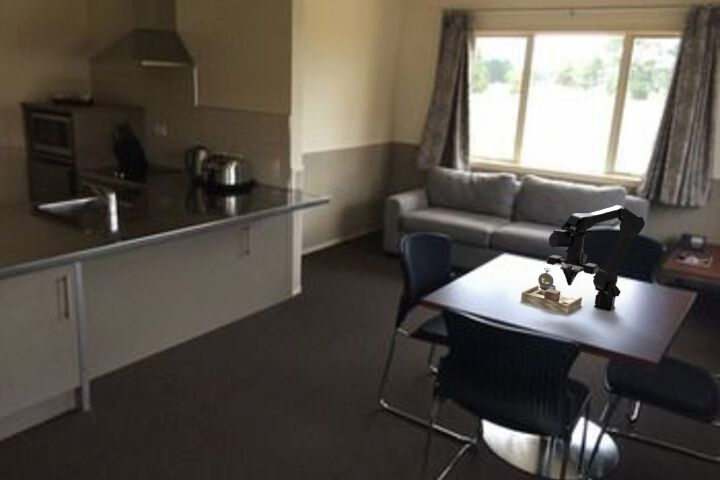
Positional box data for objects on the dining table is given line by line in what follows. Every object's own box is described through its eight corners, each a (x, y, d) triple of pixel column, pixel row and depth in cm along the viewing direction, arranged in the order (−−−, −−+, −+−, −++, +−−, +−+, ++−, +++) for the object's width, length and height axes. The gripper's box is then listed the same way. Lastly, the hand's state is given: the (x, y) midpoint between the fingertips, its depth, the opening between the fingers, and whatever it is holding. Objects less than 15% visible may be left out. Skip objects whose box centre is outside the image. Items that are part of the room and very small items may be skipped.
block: (559, 302, 243) (560, 291, 242) (554, 304, 240) (555, 293, 239) (548, 298, 246) (549, 288, 245) (543, 301, 243) (545, 290, 242)
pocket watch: (553, 286, 269) (556, 264, 267) (557, 292, 261) (561, 270, 259) (535, 284, 270) (537, 263, 268) (538, 290, 262) (541, 268, 260)
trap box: (580, 305, 246) (582, 297, 245) (566, 313, 236) (567, 305, 235) (536, 293, 259) (537, 285, 258) (520, 300, 248) (521, 292, 248)
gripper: (607, 248, 234) (600, 287, 238) (560, 238, 246) (555, 275, 249) (595, 253, 226) (589, 293, 229) (548, 243, 237) (543, 281, 241)
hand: (569, 285), depth 238 cm, fingers closed
